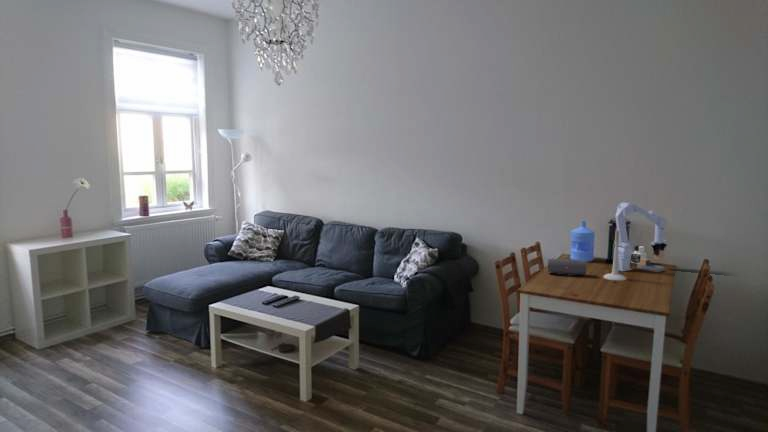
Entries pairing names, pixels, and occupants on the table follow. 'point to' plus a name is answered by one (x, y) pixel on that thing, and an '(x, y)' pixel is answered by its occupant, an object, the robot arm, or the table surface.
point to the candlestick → (615, 263)
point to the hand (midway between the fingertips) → (658, 254)
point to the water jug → (582, 243)
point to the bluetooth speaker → (567, 266)
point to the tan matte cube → (659, 255)
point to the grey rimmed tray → (649, 266)
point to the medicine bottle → (638, 254)
